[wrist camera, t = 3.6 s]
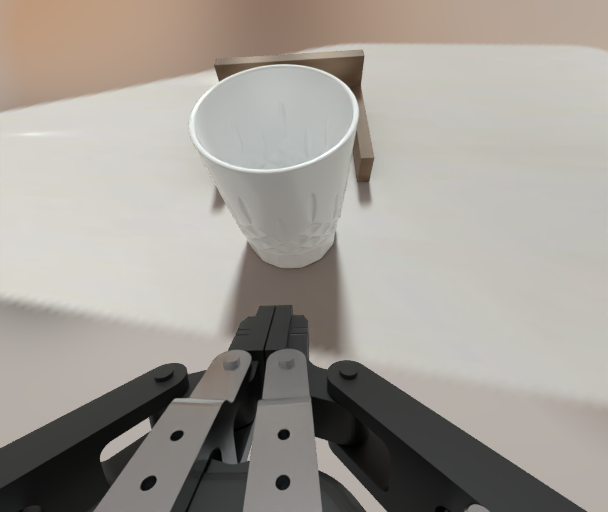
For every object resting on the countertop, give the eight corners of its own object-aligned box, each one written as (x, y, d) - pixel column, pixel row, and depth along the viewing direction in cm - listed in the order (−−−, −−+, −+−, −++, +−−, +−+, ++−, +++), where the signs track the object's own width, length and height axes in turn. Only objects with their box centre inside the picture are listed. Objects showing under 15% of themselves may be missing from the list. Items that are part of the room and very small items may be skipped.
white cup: (264, 295, 19) (217, 200, 11) (228, 214, 23) (170, 92, 14) (363, 249, 21) (394, 131, 12) (314, 179, 24) (310, 48, 15)
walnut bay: (356, 104, 29) (362, 49, 24) (369, 180, 24) (380, 129, 19) (231, 111, 29) (215, 59, 25) (217, 187, 24) (195, 138, 20)
